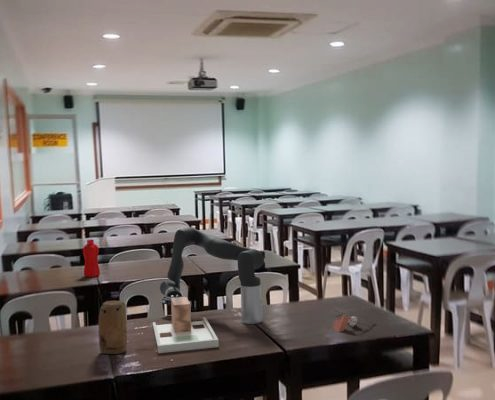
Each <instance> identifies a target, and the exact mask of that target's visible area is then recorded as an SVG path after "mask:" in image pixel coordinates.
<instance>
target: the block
mask: <svg viewBox="0 0 495 400" xmlns="http://www.w3.org/2000/svg"><path fill="white" fill-rule="evenodd" d="M127 330H128V326H127V309H126V303H125V301H124V300H113V299H112V300H106V301H105V302H103V303H102V305H101V306H100V308H99V314H98V347H99V352H100V354H103V355H105V354H108V355H113V354H114V355H115V354H117V355H118V354H122V353H125V352H126V350H127V346H128V331H127Z"/></svg>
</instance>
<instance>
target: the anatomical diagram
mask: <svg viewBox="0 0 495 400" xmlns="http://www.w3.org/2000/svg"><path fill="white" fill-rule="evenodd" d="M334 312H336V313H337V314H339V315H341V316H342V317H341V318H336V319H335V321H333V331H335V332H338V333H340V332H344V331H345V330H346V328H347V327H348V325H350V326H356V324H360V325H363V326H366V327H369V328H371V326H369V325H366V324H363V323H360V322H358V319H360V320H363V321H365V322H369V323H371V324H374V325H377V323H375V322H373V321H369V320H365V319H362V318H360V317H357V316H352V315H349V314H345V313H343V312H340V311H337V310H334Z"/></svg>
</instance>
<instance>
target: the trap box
mask: <svg viewBox="0 0 495 400" xmlns="http://www.w3.org/2000/svg"><path fill="white" fill-rule="evenodd" d="M198 325H203V326H204V327H202V328H201V327H200V328H194V327H193V326H198ZM152 328H153V334H154V339H155V343H156V349H157V354H164V353H165V354H166V353H175V352H185V351H194V350H201V349H202V350H203V349H210V348H211V349H212V348H219V338H218V336H217V335H216V333H215V331H214V329H213V328H212V326H211V325H210V323H209V321H208V319H207V317H202V320H197V321H196V320H195V321H191V331H188V332H178V333H175V332H174V329H173V326H172V323H167V324H166V323H165V324H156V321H155V322H154V321H153V322H152ZM168 333H170V334H171V336H164V337H161V334H168Z"/></svg>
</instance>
